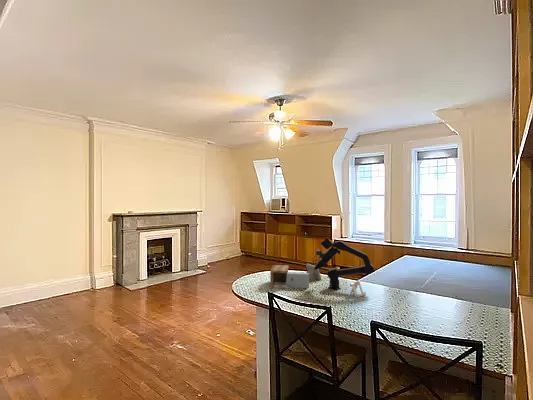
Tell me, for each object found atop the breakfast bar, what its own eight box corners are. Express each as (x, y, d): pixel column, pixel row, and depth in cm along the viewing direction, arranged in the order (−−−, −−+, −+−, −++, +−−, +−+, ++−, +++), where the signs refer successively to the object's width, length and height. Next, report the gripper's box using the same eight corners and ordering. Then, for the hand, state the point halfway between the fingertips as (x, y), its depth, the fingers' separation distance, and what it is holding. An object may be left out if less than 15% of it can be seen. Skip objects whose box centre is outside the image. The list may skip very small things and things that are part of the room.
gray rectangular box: (308, 286, 232) (308, 273, 232) (308, 288, 227) (308, 274, 227) (286, 285, 234) (287, 272, 234) (286, 287, 229) (286, 273, 229)
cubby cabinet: (290, 281, 245) (290, 265, 245) (289, 288, 227) (289, 270, 227) (273, 280, 247) (273, 264, 247) (270, 287, 229) (270, 270, 229)
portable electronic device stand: (358, 298, 207) (358, 285, 206) (348, 295, 213) (348, 282, 213) (365, 295, 212) (365, 283, 212) (355, 292, 218) (355, 280, 218)
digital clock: (322, 280, 249) (322, 267, 249) (311, 281, 247) (311, 267, 247) (314, 275, 265) (314, 262, 264) (304, 276, 263) (304, 263, 263)
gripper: (321, 244, 238) (306, 258, 239) (322, 248, 219) (306, 263, 221) (332, 254, 237) (317, 269, 238) (334, 259, 218) (318, 275, 220)
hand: (314, 268), depth 229 cm, fingers closed
